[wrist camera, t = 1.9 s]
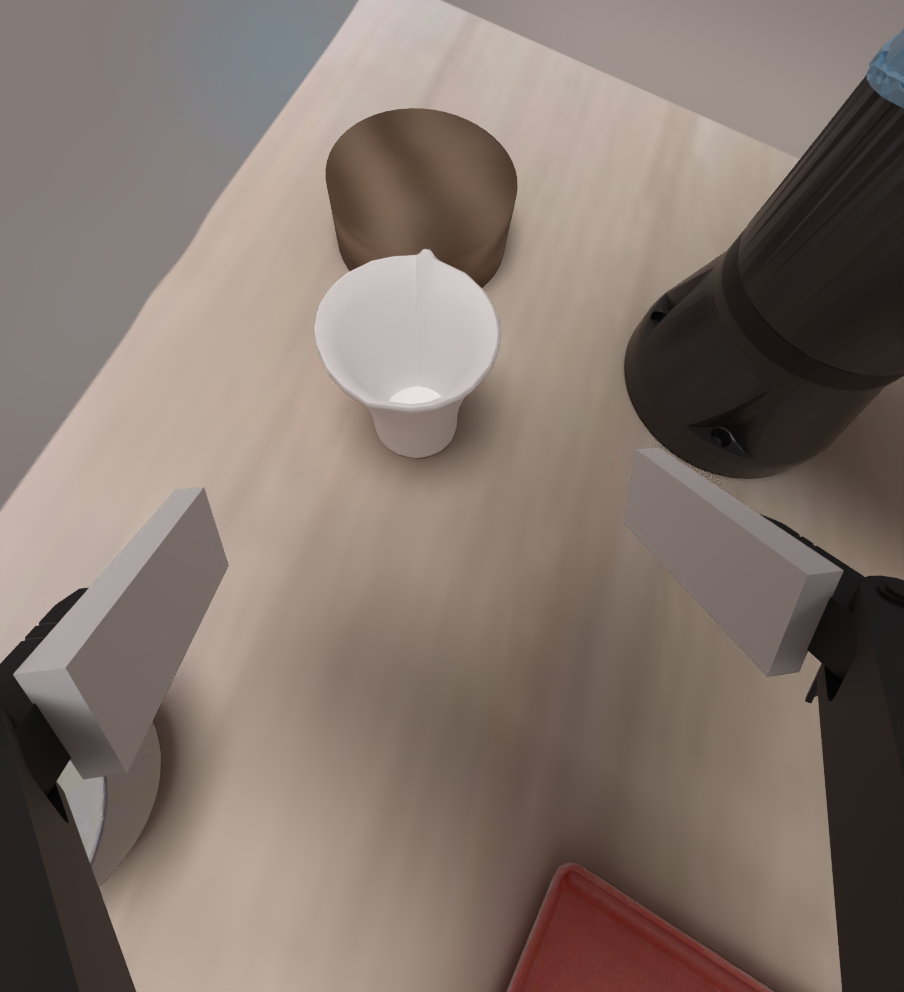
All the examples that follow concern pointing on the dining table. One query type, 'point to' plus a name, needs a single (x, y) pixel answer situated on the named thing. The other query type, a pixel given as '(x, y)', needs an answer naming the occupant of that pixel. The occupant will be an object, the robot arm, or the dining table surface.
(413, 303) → the cup
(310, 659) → the dining table surface
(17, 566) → the dining table surface
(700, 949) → the plant saucer
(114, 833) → the teacup
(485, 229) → the walnut stand
